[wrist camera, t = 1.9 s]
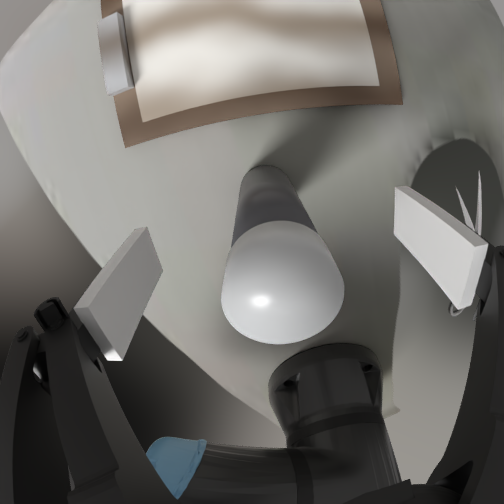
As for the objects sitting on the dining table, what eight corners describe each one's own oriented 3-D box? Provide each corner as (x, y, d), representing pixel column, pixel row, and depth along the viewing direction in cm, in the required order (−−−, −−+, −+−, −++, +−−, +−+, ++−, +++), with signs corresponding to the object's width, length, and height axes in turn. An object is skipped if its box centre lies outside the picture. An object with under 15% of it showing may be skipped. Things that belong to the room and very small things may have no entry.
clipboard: (397, 104, 18) (410, 104, 16) (130, 146, 20) (118, 150, 18) (355, -48, 10) (363, -59, 8) (105, -8, 12) (93, -15, 10)
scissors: (451, 326, 29) (433, 198, 21) (448, 322, 30) (429, 195, 22) (502, 288, 27) (497, 158, 19) (499, 285, 27) (493, 156, 19)
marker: (295, 210, 22) (343, 334, 10) (244, 218, 23) (236, 350, 10) (288, 160, 20) (344, 235, 8) (234, 169, 21) (206, 257, 8)
